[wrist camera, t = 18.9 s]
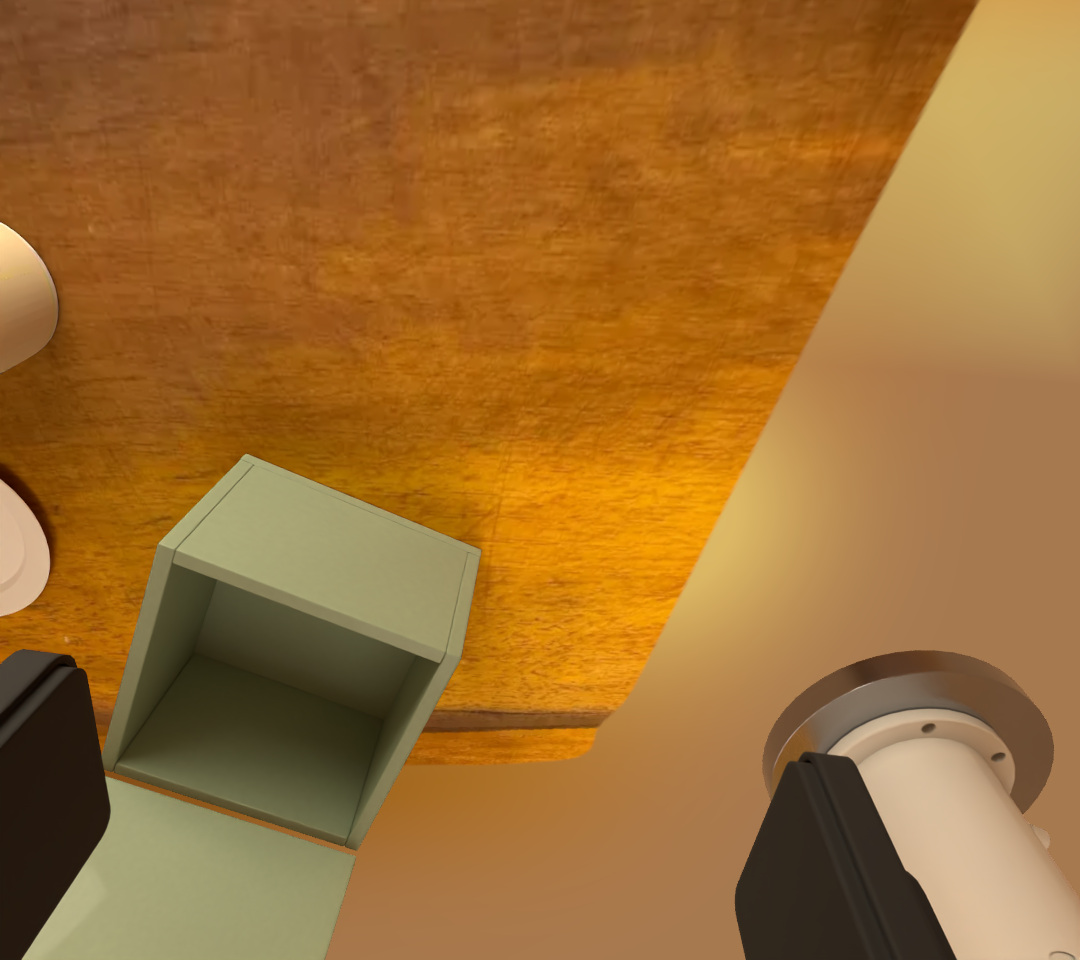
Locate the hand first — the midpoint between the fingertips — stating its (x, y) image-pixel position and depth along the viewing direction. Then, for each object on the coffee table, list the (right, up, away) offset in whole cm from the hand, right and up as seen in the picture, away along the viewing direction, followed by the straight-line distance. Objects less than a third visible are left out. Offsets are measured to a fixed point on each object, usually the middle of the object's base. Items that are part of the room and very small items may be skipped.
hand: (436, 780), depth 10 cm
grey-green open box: (-12, -4, +35) cm, 37 cm away
